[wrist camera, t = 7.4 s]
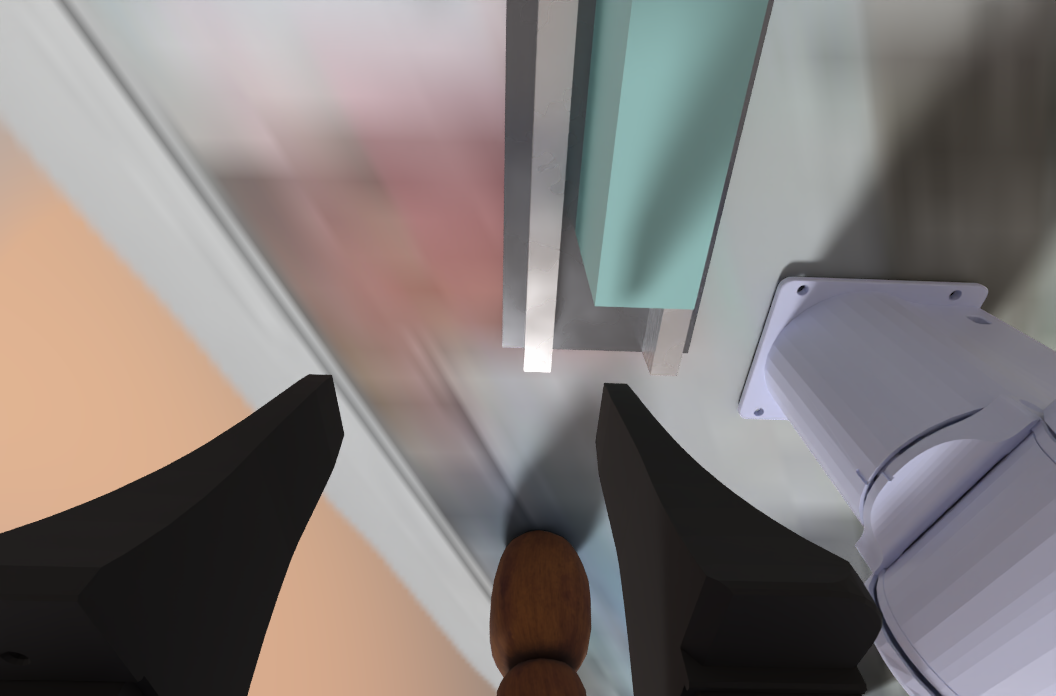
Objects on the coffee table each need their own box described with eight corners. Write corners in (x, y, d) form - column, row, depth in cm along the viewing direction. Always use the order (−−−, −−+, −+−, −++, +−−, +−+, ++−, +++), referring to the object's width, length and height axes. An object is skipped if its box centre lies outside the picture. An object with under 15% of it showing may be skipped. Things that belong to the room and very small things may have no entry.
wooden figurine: (500, 510, 31) (481, 843, 18) (591, 519, 31) (636, 850, 18) (489, 576, 34) (466, 894, 21) (571, 583, 35) (597, 899, 22)
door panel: (691, -34, 16) (788, -82, 10) (645, 234, 21) (693, 309, 15) (600, -39, 16) (643, -90, 10) (575, 231, 21) (594, 305, 15)
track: (855, -370, 13) (922, -455, 11) (684, 346, 24) (700, 376, 22) (512, -390, 13) (509, -484, 10) (503, 341, 24) (500, 370, 22)
